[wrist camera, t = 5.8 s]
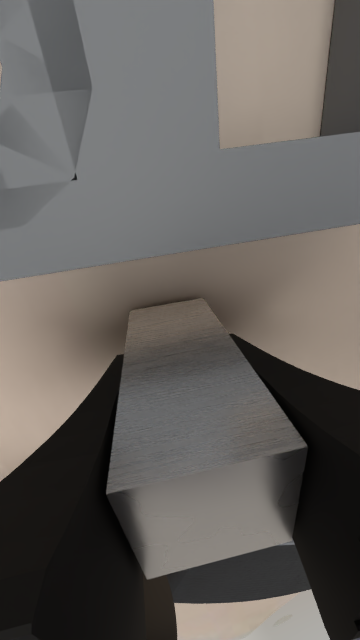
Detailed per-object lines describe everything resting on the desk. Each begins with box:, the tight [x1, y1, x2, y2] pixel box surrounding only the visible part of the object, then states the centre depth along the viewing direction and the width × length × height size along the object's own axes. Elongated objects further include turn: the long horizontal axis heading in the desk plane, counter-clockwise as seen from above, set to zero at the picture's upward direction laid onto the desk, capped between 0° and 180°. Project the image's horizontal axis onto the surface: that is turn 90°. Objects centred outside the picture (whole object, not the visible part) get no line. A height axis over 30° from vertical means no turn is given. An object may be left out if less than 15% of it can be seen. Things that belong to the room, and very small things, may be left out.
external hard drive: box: [166, 538, 311, 604], centre depth 22 cm, size 13×19×4 cm
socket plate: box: [0, 0, 360, 281], centre depth 7 cm, size 20×11×3 cm, turn 97°
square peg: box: [106, 298, 308, 580], centre depth 8 cm, size 4×4×8 cm
